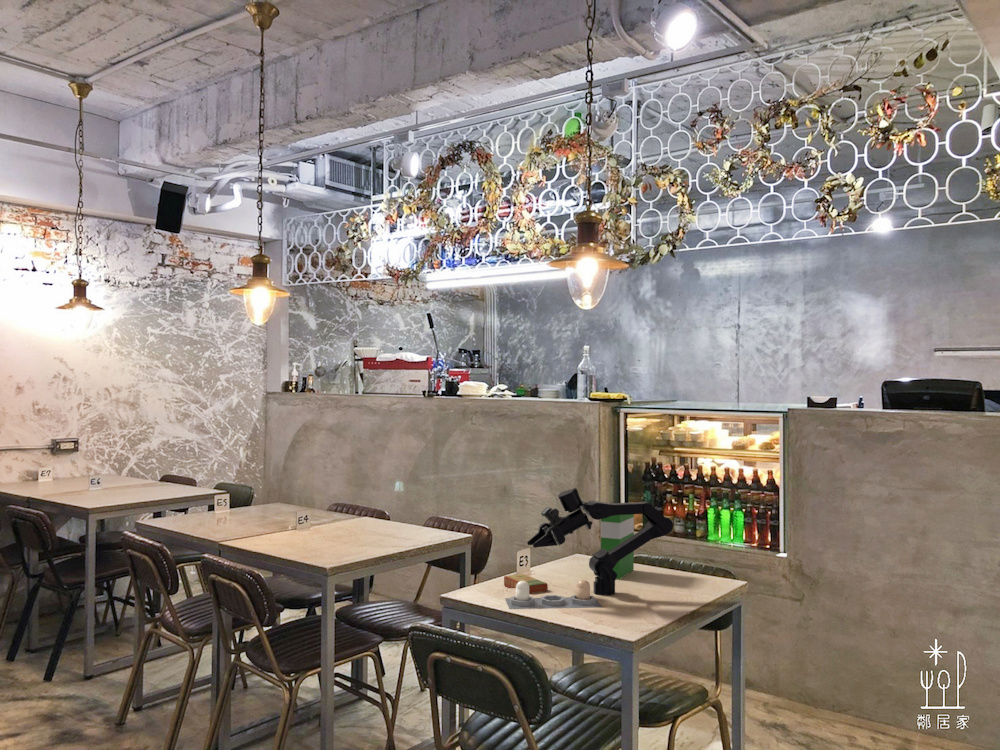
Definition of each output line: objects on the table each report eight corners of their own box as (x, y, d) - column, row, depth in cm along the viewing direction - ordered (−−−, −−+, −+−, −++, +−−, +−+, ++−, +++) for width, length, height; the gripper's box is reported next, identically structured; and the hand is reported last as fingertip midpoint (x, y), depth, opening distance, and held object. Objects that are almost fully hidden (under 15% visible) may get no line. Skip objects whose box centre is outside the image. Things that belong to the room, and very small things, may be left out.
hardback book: (615, 568, 310) (615, 507, 311) (633, 570, 307) (633, 509, 307) (600, 577, 294) (600, 513, 295) (619, 579, 291) (619, 515, 292)
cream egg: (528, 601, 255) (528, 579, 255) (530, 604, 250) (530, 582, 250) (514, 601, 254) (515, 579, 254) (516, 605, 250) (516, 582, 250)
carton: (523, 585, 283) (523, 573, 283) (548, 594, 269) (548, 582, 269) (503, 587, 278) (503, 575, 278) (527, 597, 265) (528, 585, 265)
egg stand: (593, 599, 261) (593, 592, 261) (602, 610, 248) (602, 602, 248) (504, 601, 258) (504, 593, 258) (509, 612, 245) (509, 604, 245)
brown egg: (588, 600, 257) (588, 578, 257) (591, 603, 252) (591, 581, 253) (575, 600, 256) (575, 578, 257) (577, 604, 252) (578, 581, 252)
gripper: (553, 501, 274) (514, 521, 271) (566, 502, 256) (524, 525, 252) (567, 529, 273) (528, 550, 270) (581, 533, 255) (540, 556, 252)
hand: (530, 545), depth 261 cm, fingers open, 9 cm apart
